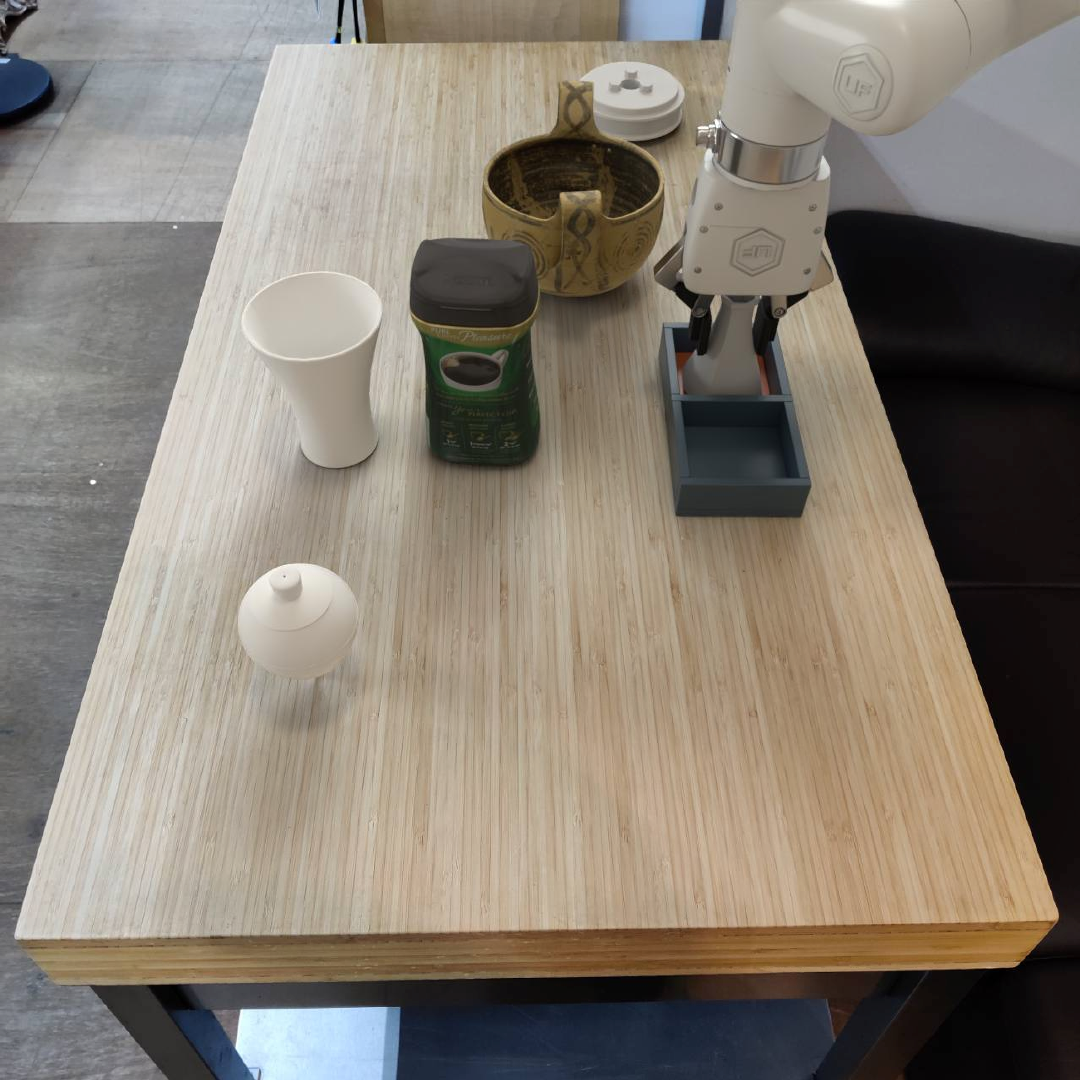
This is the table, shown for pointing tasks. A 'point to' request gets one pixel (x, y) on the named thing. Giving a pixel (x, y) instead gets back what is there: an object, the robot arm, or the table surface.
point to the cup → (321, 358)
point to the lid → (635, 100)
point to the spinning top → (298, 621)
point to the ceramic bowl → (576, 200)
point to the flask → (727, 353)
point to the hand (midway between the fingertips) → (729, 343)
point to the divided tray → (732, 440)
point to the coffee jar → (477, 348)
